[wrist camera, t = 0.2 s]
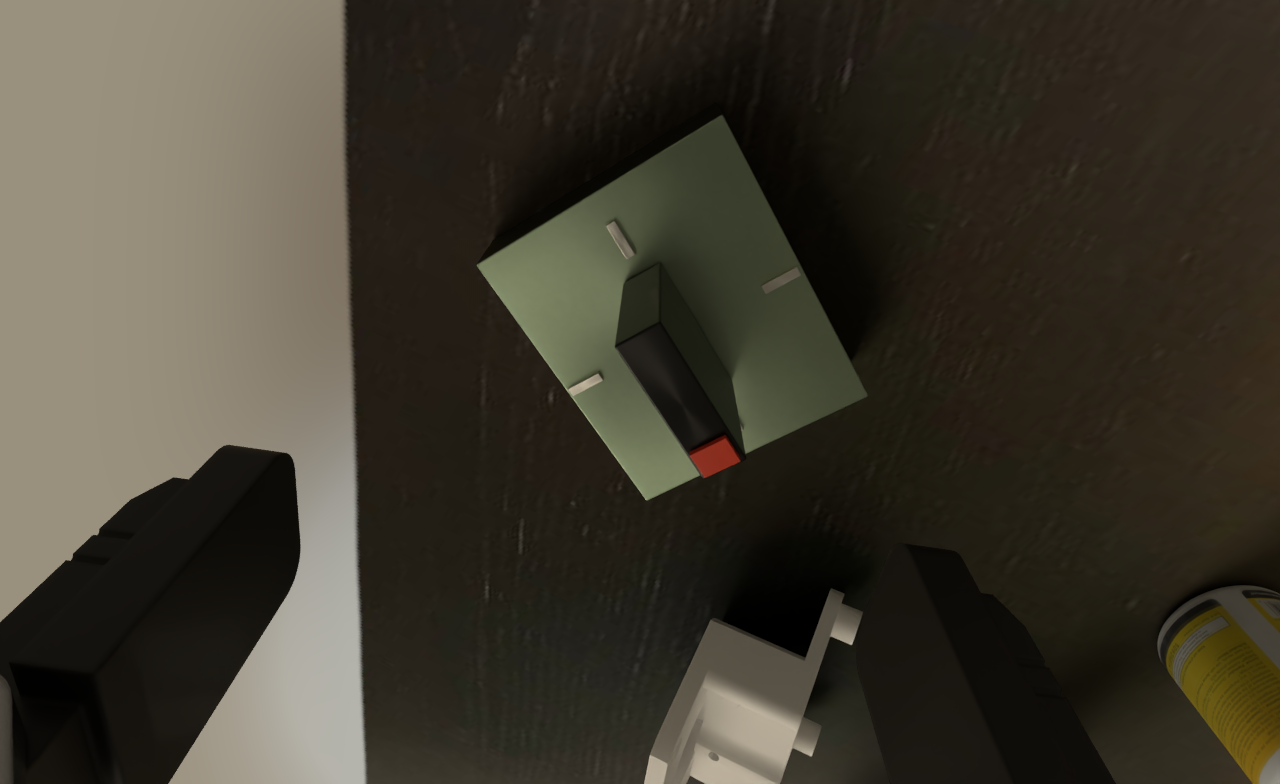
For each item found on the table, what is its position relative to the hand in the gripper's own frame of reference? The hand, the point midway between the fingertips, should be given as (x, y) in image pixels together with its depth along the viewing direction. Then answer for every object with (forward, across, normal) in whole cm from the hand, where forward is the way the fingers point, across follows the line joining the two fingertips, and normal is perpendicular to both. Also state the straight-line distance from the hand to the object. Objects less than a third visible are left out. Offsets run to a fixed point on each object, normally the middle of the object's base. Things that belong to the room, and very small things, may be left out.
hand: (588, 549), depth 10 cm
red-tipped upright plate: (+18, -2, +4) cm, 18 cm away
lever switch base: (+21, -2, +4) cm, 21 cm away
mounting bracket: (+21, -9, +23) cm, 33 cm away
